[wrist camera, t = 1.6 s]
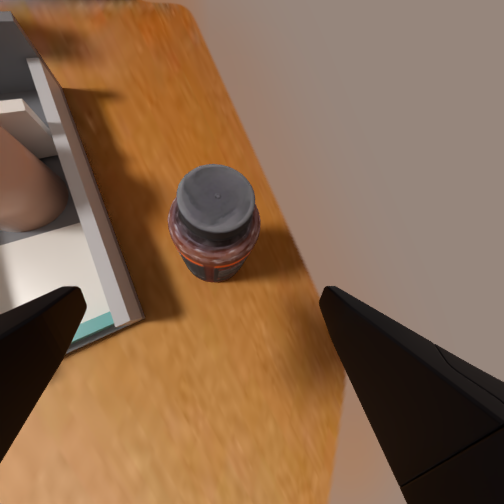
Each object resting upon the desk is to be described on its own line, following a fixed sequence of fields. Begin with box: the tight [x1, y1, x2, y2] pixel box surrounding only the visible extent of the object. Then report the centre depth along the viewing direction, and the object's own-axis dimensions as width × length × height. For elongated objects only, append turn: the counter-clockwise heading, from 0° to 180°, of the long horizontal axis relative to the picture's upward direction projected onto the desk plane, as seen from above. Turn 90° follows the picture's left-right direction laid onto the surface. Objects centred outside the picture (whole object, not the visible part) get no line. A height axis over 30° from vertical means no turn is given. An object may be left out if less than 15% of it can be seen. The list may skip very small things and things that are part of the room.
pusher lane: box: [0, 12, 145, 355], centre depth 15 cm, size 28×11×6 cm, turn 26°
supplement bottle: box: [168, 164, 260, 282], centre depth 15 cm, size 6×6×11 cm
